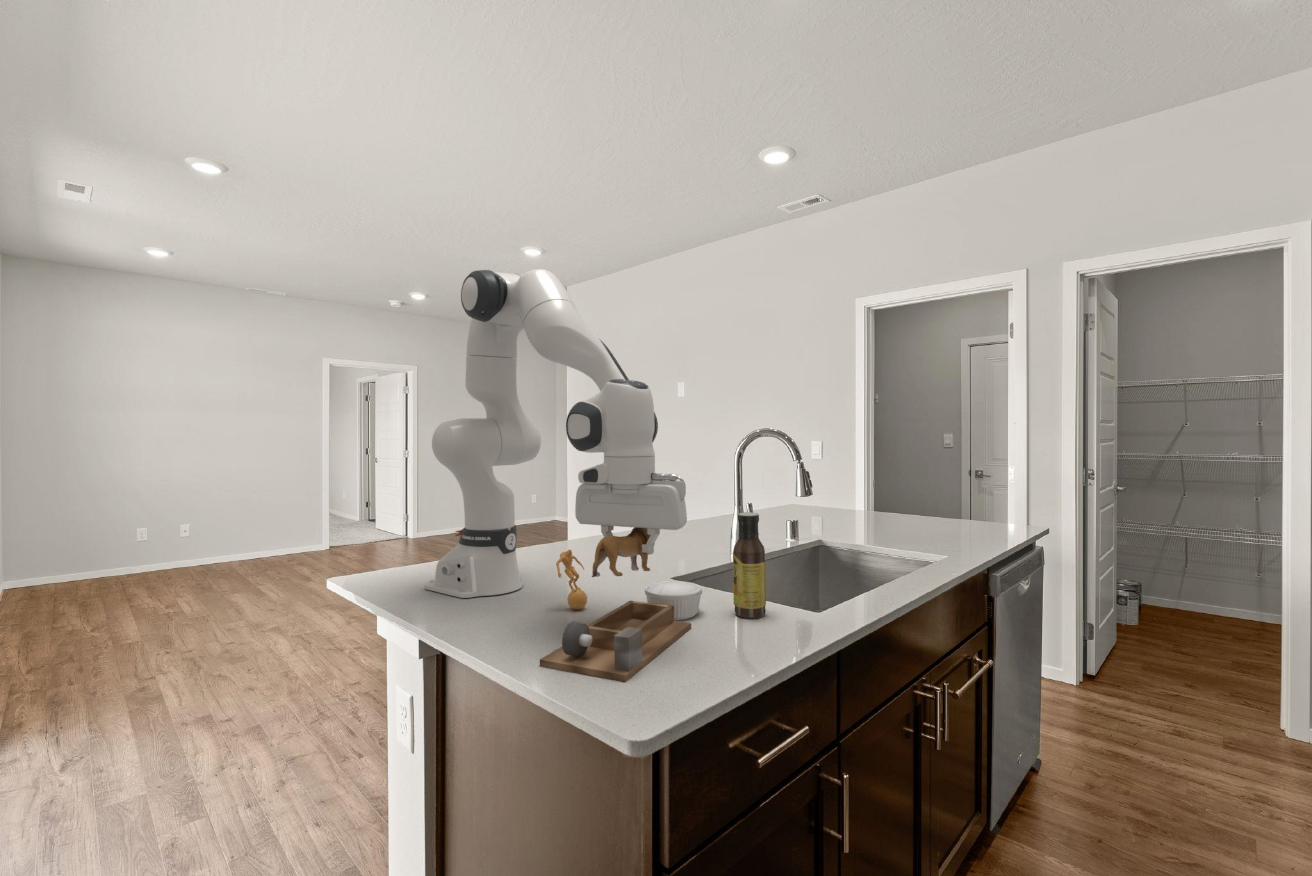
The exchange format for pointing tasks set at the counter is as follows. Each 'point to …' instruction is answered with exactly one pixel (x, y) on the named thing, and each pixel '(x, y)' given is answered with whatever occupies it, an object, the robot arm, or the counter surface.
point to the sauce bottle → (749, 569)
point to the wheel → (576, 639)
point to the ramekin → (676, 597)
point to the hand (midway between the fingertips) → (630, 552)
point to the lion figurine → (622, 550)
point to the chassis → (623, 641)
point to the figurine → (572, 580)
